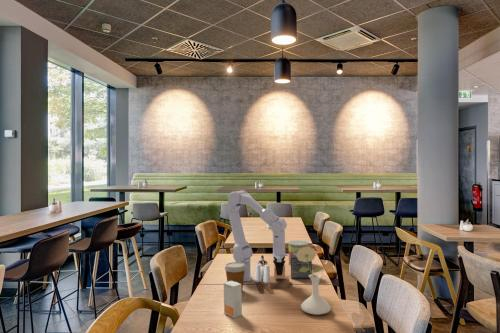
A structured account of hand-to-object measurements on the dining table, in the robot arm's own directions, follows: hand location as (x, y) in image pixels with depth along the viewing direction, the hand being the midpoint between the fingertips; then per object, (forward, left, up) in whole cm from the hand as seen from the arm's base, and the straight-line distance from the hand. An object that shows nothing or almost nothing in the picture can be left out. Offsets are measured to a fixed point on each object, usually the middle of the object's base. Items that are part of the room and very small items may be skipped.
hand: (279, 273), depth 170 cm
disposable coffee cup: (-20, -9, -6) cm, 23 cm away
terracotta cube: (0, 0, -2) cm, 2 cm away
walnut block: (0, 0, -6) cm, 6 cm away
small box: (+11, +12, -6) cm, 17 cm away
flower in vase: (+13, -30, -6) cm, 33 cm away
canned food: (+11, +36, -6) cm, 38 cm away
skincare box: (-18, -34, -6) cm, 39 cm away
